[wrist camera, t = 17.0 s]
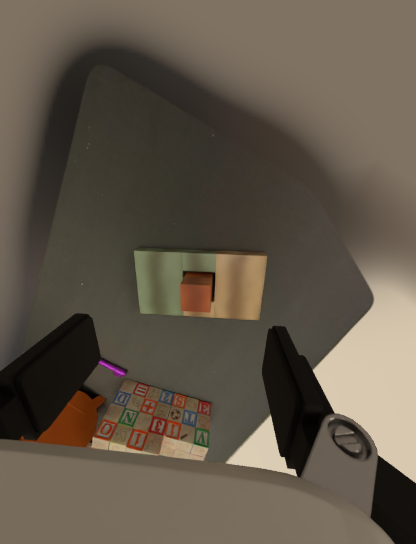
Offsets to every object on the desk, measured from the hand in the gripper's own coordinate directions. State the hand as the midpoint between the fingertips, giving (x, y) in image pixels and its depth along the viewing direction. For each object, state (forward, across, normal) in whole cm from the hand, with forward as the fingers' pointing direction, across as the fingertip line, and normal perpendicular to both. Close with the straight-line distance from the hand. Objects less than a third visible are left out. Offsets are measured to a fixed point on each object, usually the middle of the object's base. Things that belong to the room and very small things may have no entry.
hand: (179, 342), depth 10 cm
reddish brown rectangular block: (+25, +2, +7) cm, 26 cm away
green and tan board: (+25, +2, +7) cm, 26 cm away
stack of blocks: (+24, +10, +38) cm, 46 cm away
